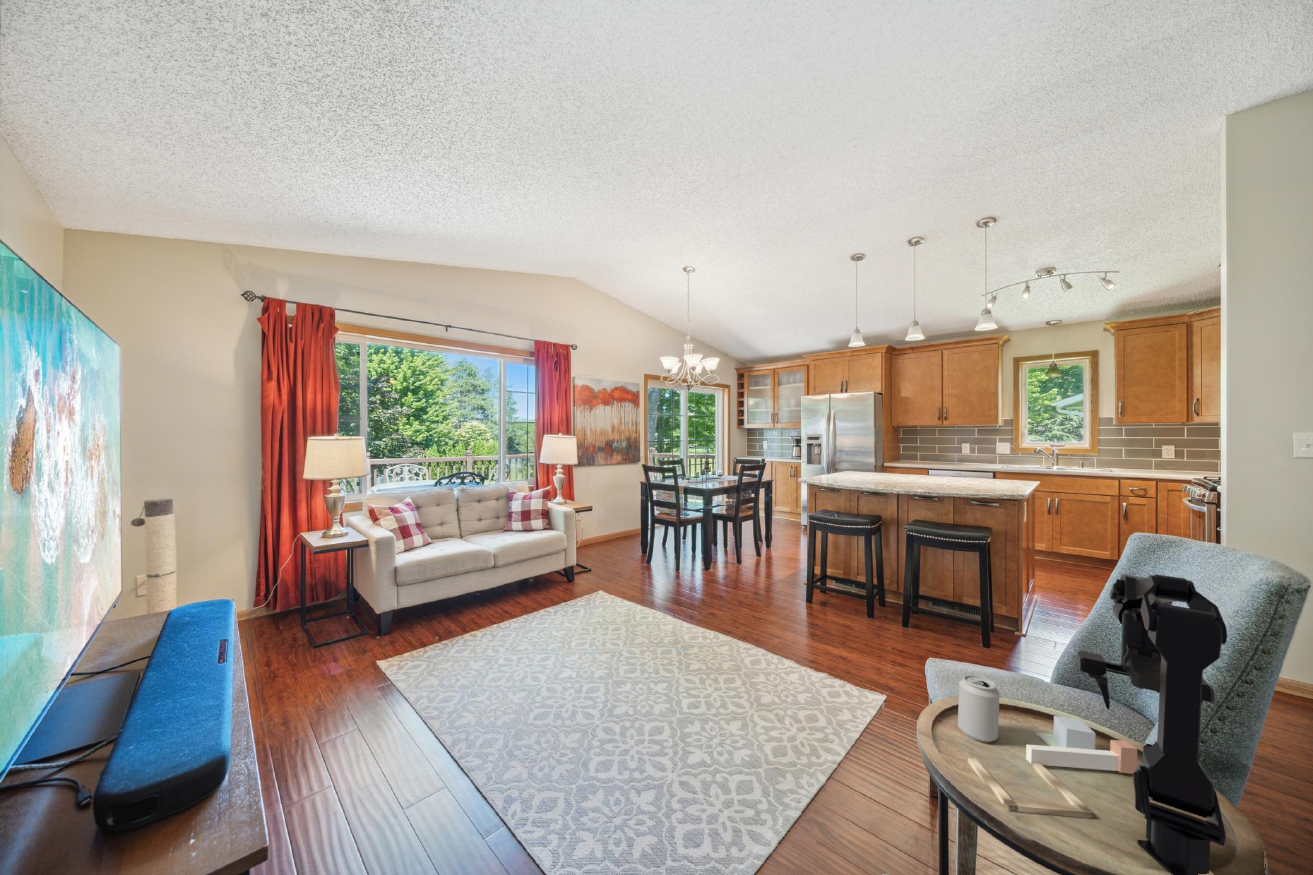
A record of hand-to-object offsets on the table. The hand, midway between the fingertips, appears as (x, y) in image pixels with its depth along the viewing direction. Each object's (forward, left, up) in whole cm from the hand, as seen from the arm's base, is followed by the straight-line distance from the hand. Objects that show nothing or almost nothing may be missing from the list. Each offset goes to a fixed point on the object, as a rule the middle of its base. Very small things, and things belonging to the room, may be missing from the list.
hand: (1138, 716), depth 96 cm
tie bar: (-1, +12, -11) cm, 16 cm away
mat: (+6, +8, -11) cm, 15 cm away
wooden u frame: (-7, +27, -11) cm, 30 cm away
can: (+9, +26, -11) cm, 29 cm away
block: (+6, +8, -11) cm, 14 cm away
